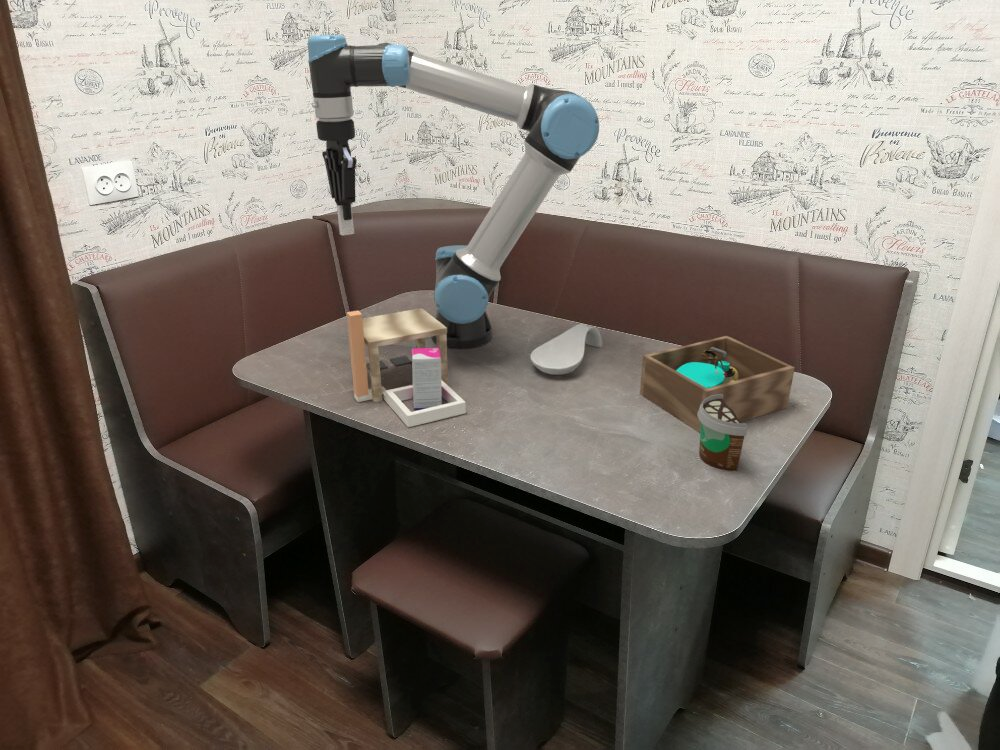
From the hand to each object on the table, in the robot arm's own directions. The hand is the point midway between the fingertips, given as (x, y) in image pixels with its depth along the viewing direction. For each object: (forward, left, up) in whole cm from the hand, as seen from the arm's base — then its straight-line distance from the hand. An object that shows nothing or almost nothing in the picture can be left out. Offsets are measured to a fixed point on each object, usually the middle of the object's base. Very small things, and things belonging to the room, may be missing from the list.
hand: (347, 233), depth 160 cm
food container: (-43, +71, -30) cm, 88 cm away
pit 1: (-3, +5, -30) cm, 31 cm away
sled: (-2, +27, -30) cm, 40 cm away
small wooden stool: (-5, +15, -30) cm, 34 cm away
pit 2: (-9, +5, -30) cm, 32 cm away
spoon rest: (-43, +23, -31) cm, 58 cm away
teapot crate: (-59, +54, -30) cm, 85 cm away
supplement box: (-6, +28, -30) cm, 41 cm away
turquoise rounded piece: (-58, +54, -30) cm, 85 cm away
